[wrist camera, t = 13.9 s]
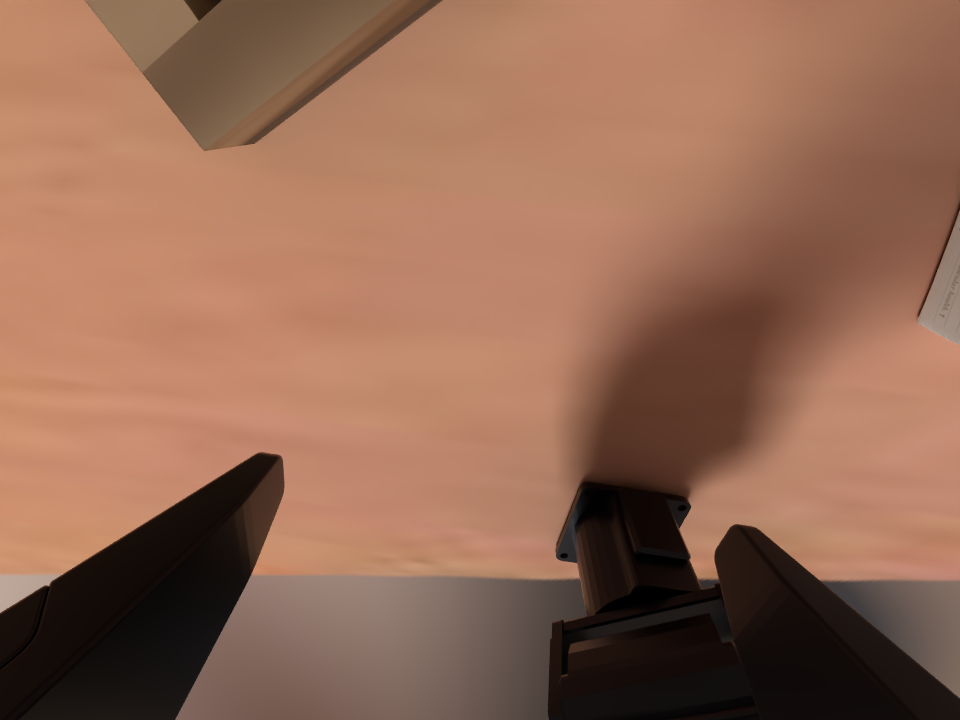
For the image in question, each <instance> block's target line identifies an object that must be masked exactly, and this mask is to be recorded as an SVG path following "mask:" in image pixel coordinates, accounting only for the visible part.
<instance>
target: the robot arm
mask: <svg viewBox="0 0 960 720" xmlns="http://www.w3.org/2000/svg"><path fill="white" fill-rule="evenodd" d="M587 491H590V492H587ZM283 493H284V470H283V459H282V457H281V456H280V455H277V454H270V453H264V452H260V453H257V454H255V455H253V456H252V457H250V458H249V459H247V460H245V461H244V462H242V463H241V464H239V465H237V466H236V467H234V468H233V469H231V470H229V471H228V472H226V473H225V474H223V475H221V476H220V477H218V478H217V479H215V480H213V481H212V482H210V483H209V484H207V485H205V486H204V487H202V488H200V489H199V490H197V491H196V492H194V493H192V494H191V495H189V496H188V497H186V498H184V499H183V500H181V501H180V502H178V503H176V504H175V505H173V506H172V507H170V508H168V509H167V510H165V511H164V512H162V513H160V514H159V515H157V516H156V517H154V518H152V519H151V520H149V521H148V522H146V523H144V524H143V525H141V526H140V527H138V528H136V529H135V530H133V531H132V532H130V533H128V534H127V535H125V536H123V537H122V538H120V539H119V540H117V541H115V542H114V543H112V544H111V545H109V546H107V547H106V548H104V549H103V550H101V551H99V552H98V553H96V554H95V555H93V556H91V557H90V558H88V559H87V560H85V561H83V562H82V563H80V564H79V565H77V566H75V567H74V568H72V569H71V570H69V571H67V572H66V573H64V574H63V575H61V576H59V577H58V578H56V579H55V580H53V581H52V582H51V583H50V585H49V586H43V587H42V588H40V589H38V590H37V591H35V592H34V593H32V594H30V595H29V596H27V597H25V598H24V599H22V600H21V601H19V602H17V603H16V604H14V605H12V606H11V607H9V608H7V609H6V610H4V611H3V612H1V613H0V720H175V719H176V717H177V715H178V713H179V711H180V710H181V708H182V706H183V704H184V702H185V700H186V698H187V696H188V694H189V692H190V691H191V689H192V687H193V685H194V683H195V681H196V679H197V677H198V675H199V673H200V672H201V670H202V668H203V666H204V664H205V662H206V660H207V658H208V656H209V654H210V653H211V651H212V649H213V647H214V645H215V643H216V641H217V639H218V637H219V635H220V634H221V632H222V630H223V628H224V626H225V624H226V622H227V620H228V618H229V616H230V615H231V613H232V611H233V609H234V607H235V605H236V603H237V601H238V600H239V597H240V596H241V594H242V592H243V590H244V588H245V586H246V584H247V582H248V580H249V578H250V576H251V574H252V572H253V569H254V567H255V565H256V562H257V560H258V557H259V555H260V552H261V550H262V547H263V545H264V542H265V540H266V537H267V535H268V532H269V530H270V527H271V525H272V522H273V520H274V517H275V515H276V512H277V510H278V507H279V504H280V502H281V499H282V497H283ZM680 505H681V506H680ZM690 509H691V505H690V503H689V501H688V499H687V498H685V497H681V496H675V495H668V494H662V493H656V492H649V491H643V490H636V489H630V488H623V487H617V486H611V485H604V484H598V483H591V482H587V483H584V484H582V485H581V486H580V488H579V491H578V493H577V496H576V498H575V501H574V503H573V506H572V509H571V511H570V514H569V516H568V519H567V521H566V524H565V527H564V529H563V532H562V534H561V537H560V539H559V542H558V544H557V547H556V557H557V559H559V560H561V561H567V562H574V563H577V564H578V569H579V575H580V581H581V586H582V592H583V598H584V603H585V609H586V615H587V616H586V617H581V618H577V619H573V620H568V621H563V620H560V621H556V622H553V623H552V638H551V639H550V665H549V694H548V717H549V719H548V720H960V698H959V697H958V696H956V695H955V694H954V693H953V692H952V691H950V690H949V689H948V688H947V687H946V686H945V685H943V684H942V683H941V682H940V681H939V680H937V679H936V678H935V677H934V676H933V675H931V674H930V673H929V672H928V671H927V670H925V669H924V668H923V667H922V666H921V665H920V664H918V663H917V662H916V661H915V660H914V659H912V658H911V657H910V656H909V655H908V654H906V653H905V652H904V651H903V650H902V649H900V648H899V647H898V646H897V645H896V644H894V643H893V642H892V641H891V640H890V639H888V638H887V637H886V636H885V635H884V634H883V633H881V632H880V631H879V630H878V629H877V628H875V627H874V626H873V625H872V624H871V623H870V622H868V621H867V620H866V619H865V618H864V617H862V616H861V615H860V614H859V613H858V612H856V611H855V610H854V609H853V608H852V607H850V606H849V605H848V604H847V603H846V602H845V601H843V600H842V599H841V598H840V597H839V596H837V595H836V594H835V593H834V592H832V591H831V590H830V589H829V588H828V587H827V586H825V585H824V584H823V583H822V582H821V581H820V580H818V579H817V578H816V577H815V576H814V575H812V574H811V573H810V572H809V571H808V570H806V569H805V568H804V567H803V566H802V565H800V564H799V563H798V562H797V561H796V560H795V559H793V558H792V557H791V556H790V555H789V554H787V553H786V552H785V551H784V550H783V549H781V548H780V547H779V546H778V545H777V544H775V543H774V542H773V541H772V540H771V539H770V538H768V537H767V536H766V535H765V534H764V533H762V532H761V531H760V530H759V529H757V528H755V527H752V526H746V525H739V524H735V525H733V526H731V527H730V528H729V530H728V531H727V533H726V535H725V536H724V538H723V539H722V541H721V542H720V544H719V545H718V547H717V548H716V551H715V556H714V558H715V565H716V569H717V573H718V577H719V582H720V583H717V584H714V587H709V588H705V589H702V588H701V586H700V583H699V581H698V579H697V576H696V574H695V572H694V569H693V567H692V564H691V562H690V560H689V559H690V558H691V557H690V553H689V551H688V549H687V546H686V544H685V542H684V539H683V537H682V535H681V532H680V530H679V528H680V526H681V525H682V523H683V521H684V519H685V518H686V516H687V514H688V512H689V511H690Z"/></svg>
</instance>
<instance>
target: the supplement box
mask: <svg viewBox="0 0 960 720" xmlns="http://www.w3.org/2000/svg"><path fill="white" fill-rule="evenodd" d="M917 322H918V323H919V324H920V325H922V326H924V327H926V328H927V329H929V330H931V331H933V332H935V333H937V334H939V335H941V336H942V337H944V338H946V339H948V340H950V341H952V342H954V343H956V344H958V345H960V211H959V214H958V217H957V220H956V223H955V225H954V228H953V231H952V234H951V236H950V239H949V242H948V244H947V247H946V250H945V252H944V255H943V257H942V260H941V263H940V266H939V268H938V270H937V273H936V276H935V279H934V282H933V284H932V286H931V289H930V291H929V294H928V296H927V299H926V301H925V304H924V306H923V308H922V311H921V313H920V316H919V318H918V321H917Z"/></svg>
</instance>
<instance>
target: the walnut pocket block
mask: <svg viewBox="0 0 960 720" xmlns="http://www.w3.org/2000/svg"><path fill="white" fill-rule="evenodd" d="M85 1H86V3H87V4H88V5H89V7H90V8H91V9H92V10H93V12H94V13H95V14H96V15H97V17H98V18H99V19H100V20H101V22H102V23H103V24H104V25H105V27H106V28H107V29H108V31H109V32H110V33H111V34H112V36H113V37H114V38H115V39H116V41H117V42H118V43H119V44H120V46H121V47H122V48H123V49H124V51H125V52H126V53H127V55H128V56H129V57H130V58H131V60H132V61H133V62H134V63H135V65H136V66H137V67H138V68H139V70H140V71H141V72H142V73H143V75H144V76H145V77H146V79H147V80H148V81H149V82H150V84H151V85H152V86H153V87H154V89H155V90H156V91H157V92H158V94H159V95H160V96H161V98H162V99H163V100H164V101H165V103H166V104H167V105H168V106H169V108H170V109H171V110H172V111H173V113H174V114H175V115H176V116H177V118H178V119H179V120H180V122H181V123H182V124H183V125H184V127H185V128H186V129H187V130H188V132H189V133H190V134H191V135H192V137H193V138H194V139H195V140H196V142H197V143H198V144H199V146H200V147H201V148H202V149H203V151H207V150H214V149H221V148H228V147H235V146H242V145H249V144H255V143H256V142H257V141H259V140H260V139H261V138H262V137H264V136H265V135H266V134H268V133H269V132H270V131H272V130H273V129H274V128H276V127H277V126H278V125H280V124H281V123H282V122H283V121H285V120H286V119H287V118H289V117H290V116H291V115H293V114H294V113H295V112H297V111H298V110H299V109H300V108H302V107H303V106H304V105H306V104H307V103H308V102H310V101H311V100H312V99H314V98H315V97H316V96H318V95H319V94H320V93H321V92H323V91H324V90H325V89H327V88H328V87H329V86H331V85H332V84H333V83H335V82H336V81H337V80H338V79H340V78H341V77H342V76H344V75H345V74H346V73H348V72H349V71H350V70H352V69H353V68H354V67H355V66H357V65H358V64H359V63H361V62H362V61H363V60H365V59H366V58H367V57H369V56H370V55H371V54H373V53H374V52H375V51H376V50H378V49H379V48H380V47H382V46H383V45H384V44H386V43H387V42H388V41H390V40H391V39H392V38H393V37H395V36H396V35H397V34H399V33H400V32H401V31H403V30H404V29H405V28H407V27H408V26H409V25H411V24H412V23H413V22H414V21H416V20H417V19H418V18H420V17H421V16H422V15H424V14H425V13H426V12H428V11H429V10H430V9H431V8H433V7H434V6H435V5H437V4H438V3H439V2H441V1H442V0H85Z"/></svg>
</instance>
